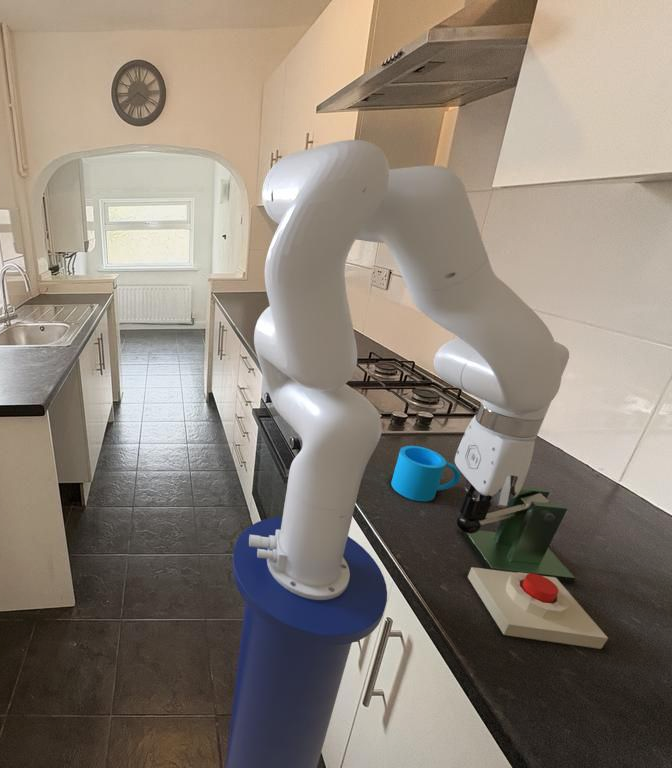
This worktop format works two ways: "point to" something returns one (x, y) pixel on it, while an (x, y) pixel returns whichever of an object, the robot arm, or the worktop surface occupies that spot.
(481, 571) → the button block
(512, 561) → the bracket
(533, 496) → the lever
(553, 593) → the button
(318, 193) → the robot arm
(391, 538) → the worktop surface
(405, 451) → the mug
